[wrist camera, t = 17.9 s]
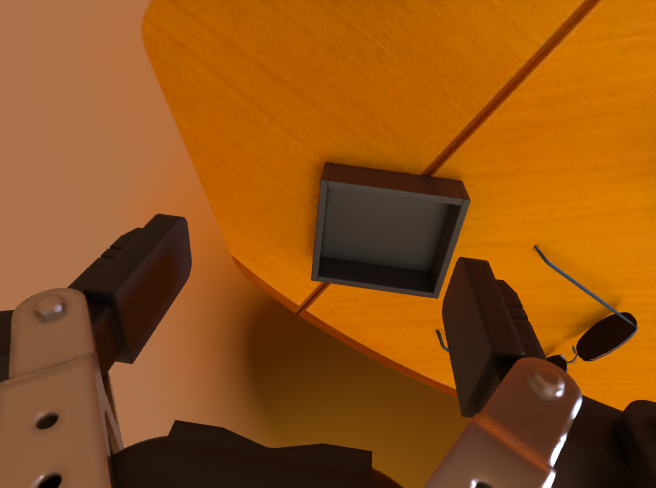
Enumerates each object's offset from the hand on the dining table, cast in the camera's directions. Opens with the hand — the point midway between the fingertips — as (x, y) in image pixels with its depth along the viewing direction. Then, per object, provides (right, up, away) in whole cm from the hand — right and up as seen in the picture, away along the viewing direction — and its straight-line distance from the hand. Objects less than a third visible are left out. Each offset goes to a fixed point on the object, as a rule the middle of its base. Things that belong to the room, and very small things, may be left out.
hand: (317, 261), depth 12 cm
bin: (+7, +3, +33) cm, 34 cm away
